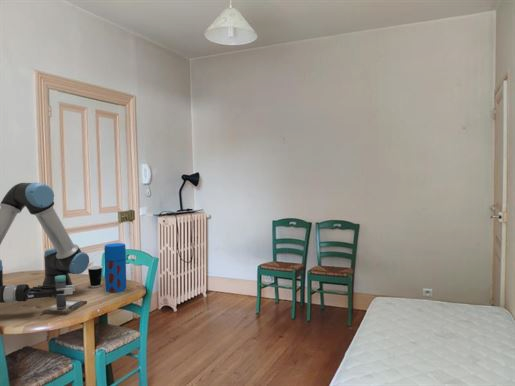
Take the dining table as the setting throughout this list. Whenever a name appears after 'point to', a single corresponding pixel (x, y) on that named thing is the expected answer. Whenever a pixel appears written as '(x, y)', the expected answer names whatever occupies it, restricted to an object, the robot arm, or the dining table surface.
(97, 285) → the dixie cup
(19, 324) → the dining table surface
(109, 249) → the thermos
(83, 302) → the brown picture frame
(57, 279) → the marker
